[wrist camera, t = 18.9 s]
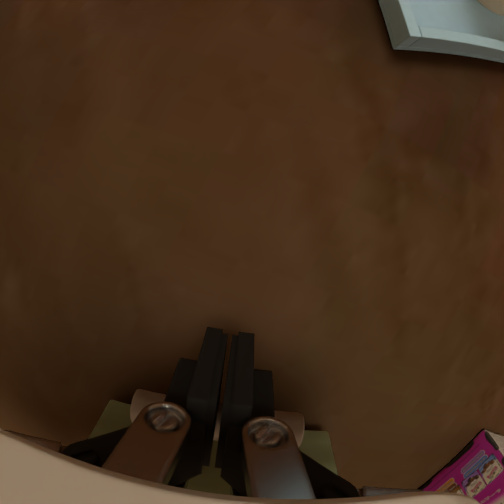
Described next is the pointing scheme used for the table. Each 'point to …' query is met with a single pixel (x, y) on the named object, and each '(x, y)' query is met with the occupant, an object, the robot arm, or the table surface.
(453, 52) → the tray
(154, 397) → the drawer
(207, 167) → the table surface
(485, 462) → the candy bar box
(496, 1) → the spice pot
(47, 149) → the table surface
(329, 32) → the table surface
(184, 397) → the robot arm
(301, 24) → the table surface
